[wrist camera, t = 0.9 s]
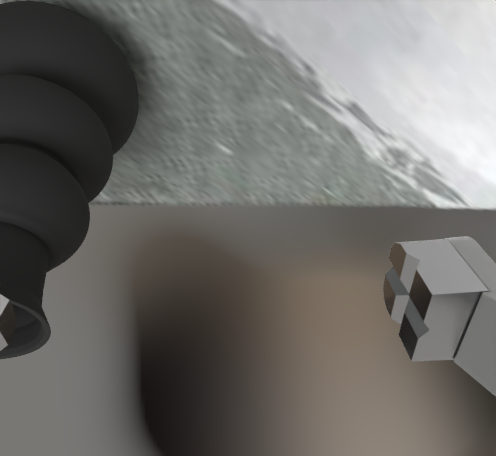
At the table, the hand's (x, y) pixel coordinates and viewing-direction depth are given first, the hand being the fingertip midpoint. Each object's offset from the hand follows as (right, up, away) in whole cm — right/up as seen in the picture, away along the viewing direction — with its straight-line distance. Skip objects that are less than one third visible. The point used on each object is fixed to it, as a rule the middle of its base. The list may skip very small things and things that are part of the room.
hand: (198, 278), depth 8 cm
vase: (-21, +21, +40) cm, 50 cm away
